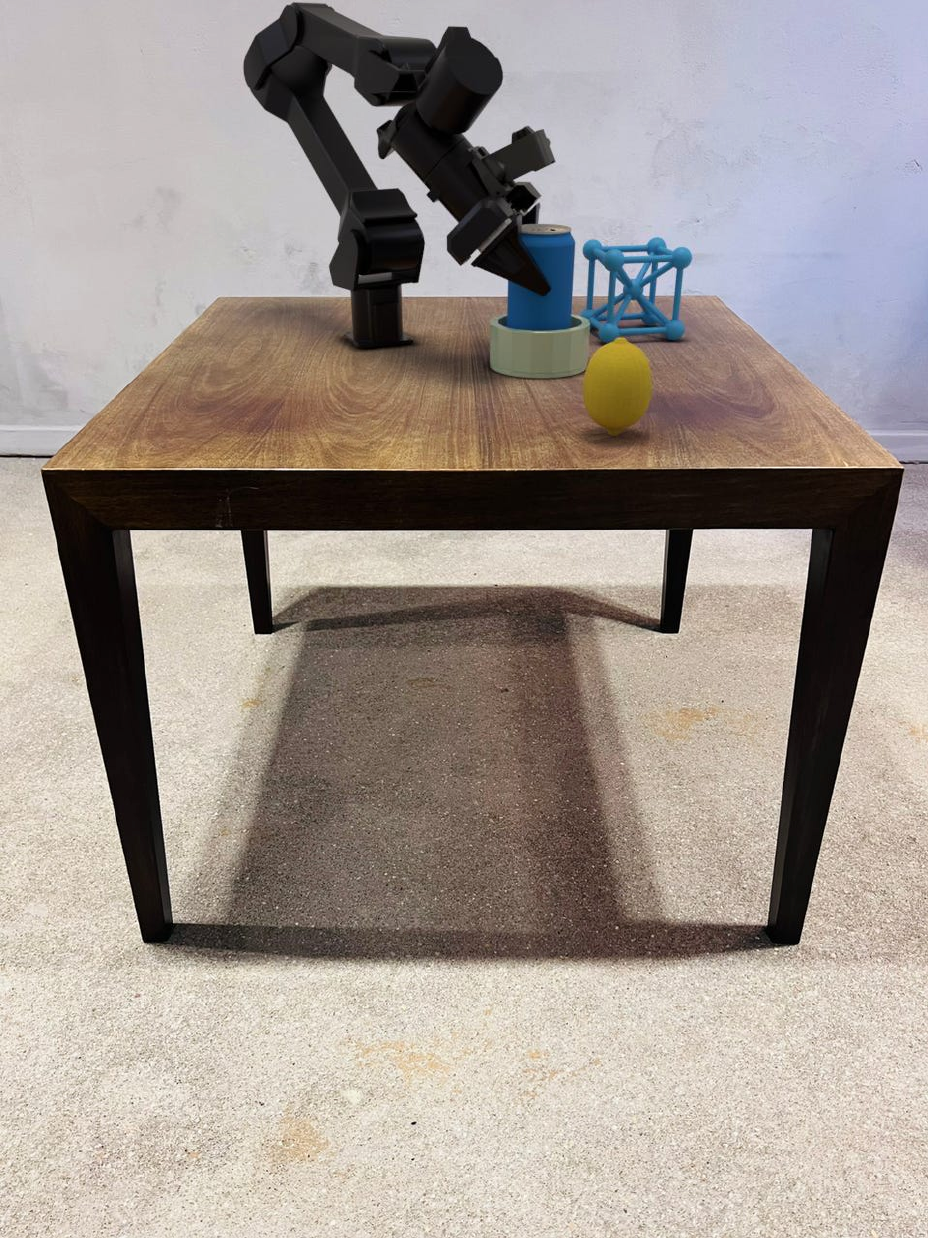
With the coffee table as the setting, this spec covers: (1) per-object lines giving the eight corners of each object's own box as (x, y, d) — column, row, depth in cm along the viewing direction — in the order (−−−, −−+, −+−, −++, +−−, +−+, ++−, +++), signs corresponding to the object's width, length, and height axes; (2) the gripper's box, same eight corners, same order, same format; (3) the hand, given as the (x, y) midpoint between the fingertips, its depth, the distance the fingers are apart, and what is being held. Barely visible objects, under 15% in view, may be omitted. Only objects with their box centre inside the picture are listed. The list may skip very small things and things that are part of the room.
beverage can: (573, 346, 103) (580, 224, 97) (564, 361, 97) (571, 233, 92) (512, 342, 104) (516, 222, 98) (500, 357, 99) (503, 230, 93)
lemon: (605, 450, 78) (612, 348, 74) (567, 431, 82) (572, 334, 78) (661, 439, 80) (671, 340, 76) (621, 421, 85) (628, 326, 81)
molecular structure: (686, 341, 110) (696, 247, 106) (601, 346, 109) (607, 250, 104) (655, 323, 119) (663, 235, 114) (576, 326, 117) (580, 237, 113)
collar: (475, 359, 104) (475, 315, 102) (560, 350, 107) (561, 308, 105) (514, 382, 96) (515, 335, 94) (604, 372, 99) (607, 327, 97)
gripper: (482, 96, 82) (604, 241, 86) (523, 93, 98) (625, 215, 101) (395, 195, 88) (513, 328, 91) (447, 177, 104) (546, 290, 107)
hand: (553, 286), depth 97 cm, fingers closed on beverage can, 6 cm apart
